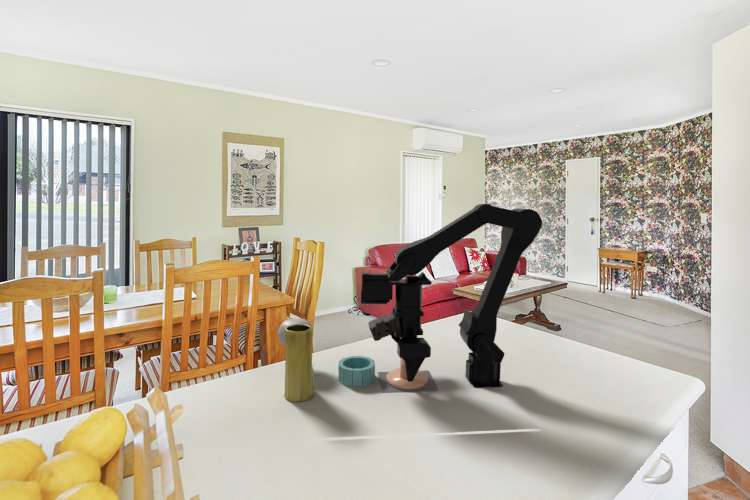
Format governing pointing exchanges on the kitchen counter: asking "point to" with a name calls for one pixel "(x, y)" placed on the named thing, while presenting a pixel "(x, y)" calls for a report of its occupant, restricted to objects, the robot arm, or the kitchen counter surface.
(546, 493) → the kitchen counter surface
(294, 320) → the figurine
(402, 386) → the lid
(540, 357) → the kitchen counter surface
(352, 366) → the bowl
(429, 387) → the mat
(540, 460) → the kitchen counter surface
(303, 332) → the vase
